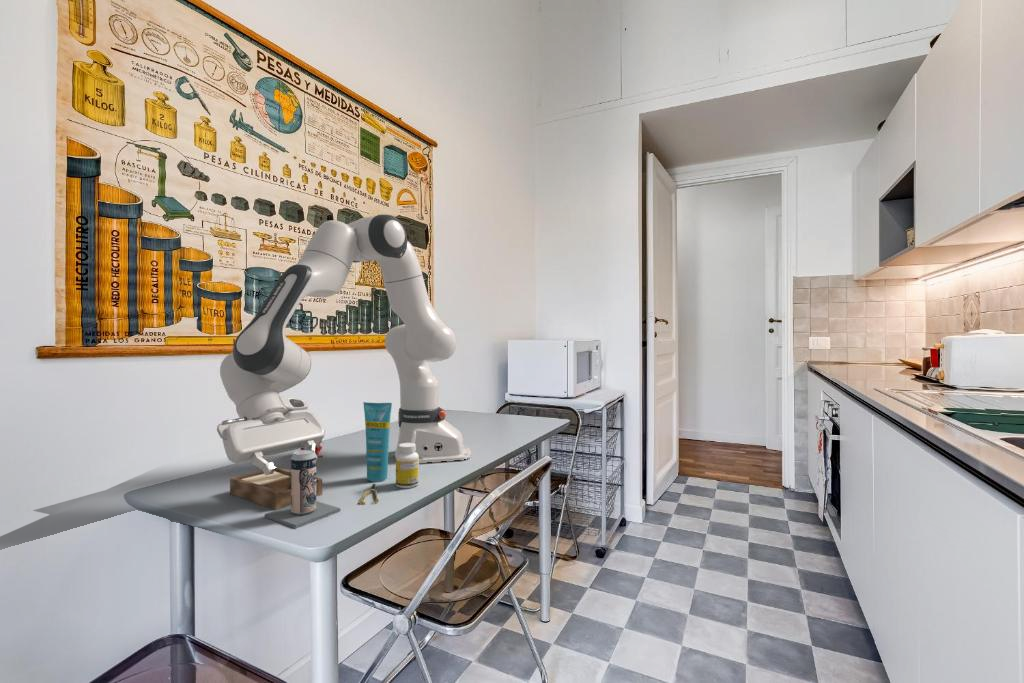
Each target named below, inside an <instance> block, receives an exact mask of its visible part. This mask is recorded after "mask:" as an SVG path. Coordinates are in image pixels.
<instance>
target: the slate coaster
mask: <svg viewBox="0 0 1024 683" xmlns="http://www.w3.org/2000/svg"><path fill="white" fill-rule="evenodd" d="M316 506H317V508H316V509H315V510H314V511H313V512H311V513H309V514H304V515H297V514H294V513H292V512H291V505H289V506H286V507H283V508H280V509H277V510H276V509H274V510H272V511H270V512H267V513H264V518H267V519H270V520H272V521H274V522H278V523H280V524H283V525H286V526H289V527H291V528H294V529H298V528H301V527H302V526H306V525H308V524H310V523H314V522H316V521H319V520H321V519H323V518H326V517H328V516H331V514H332V515H334V514H336V513H339V512H341V507H338V506H334V505H331V504H328V503H324V502H321V501H317V500H316Z"/></svg>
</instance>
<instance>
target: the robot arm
mask: <svg viewBox="0 0 1024 683" xmlns="http://www.w3.org/2000/svg"><path fill="white" fill-rule="evenodd" d="M372 261H376V263H377V264H378V265H379V267H380V271H381V272H380V273H381V276H382V280H383V285H384V288H385V291H386V295H387V298H388V302H389V307H390V309H391V310H392V312H394V313H395V314H396V315H397V316H398V317H399V319H401V321H402V323H403V324H400V325H396V326H394V327H392V328H390V329H389V330H388V331H387V333H386V335H385V337H384V346H385V349H386V351H387V352H388V354H389V355H390V357H391V358H392V360H393V362H394V364H395V367H396V371H397V374H398V378H399V389H400V390H399V391H400V392H399V394H400V395H399V396H400V399H399V400H400V401H399V402H400V406H399V408H398V412H397V413H398V415H397V416H398V417H397V418H398V423H397V424H398V427H399V429H398V431H399V432H398V437H397V443H396V448H395V452H394V458H396V456H397V454H399V453H400V452H399V445H400V444H402V443H414V444H416V450H415V452H416V453H417V454H418V455H419V464H428V463H427V462H432V463H442V462H441V461H447V462H455V461H454V460H461V461H465V460H464V459H466V460H468V459H469V458H468V457H470V458H471V456H472V450H471V448H470V447H468V446H467V445H465V442H464V437H463V434H462V432H461V431H460V430H459V429H458V428H456V427H455V426H454V425H452V424H451V423H450V422H448V421H447V420H446V415H447V413H446V410H445V409H444V408H442V407H440V406H439V382H438V379H437V378H436V376H435V375H434V374H433V373H432V371H431V368H430V366H429V363H436V362H442V361H445V360H448V359H450V358H451V357H452V356H453V355H454V353H455V351H456V348H457V338H456V334H455V333H454V331H453V330H452V329H451V328H450V327H448V325H446V324H445V323H444V322H443V321H442V320H441V318H440V317H439V316H438V314H437V312H436V310H435V309H434V307H433V305H432V302H431V300H430V298H429V294H428V291H427V287H426V283H425V279H424V276H423V271H422V268H421V264H420V261H419V259H418V256H417V254H416V252H415V250H414V246H413V245H412V244H411V243H410V241H408V236H407V231H406V229H405V226H404V225H403V223H402V222H401V221H400V220H399V218H397V217H396V216H394V215H391V214H378V215H373V216H365V217H361V218H359V219H357V220H354V221H351V222H348V223H345V222H343V221H339V220H335V219H333V220H332V219H331V220H326V221H324V222H322V223H321V224H320V225H319V227H318V228H317V229H316V231H315V232H314V234H313V235H312V237H311V238H310V239H309V242H308V243H307V245H306V247H305V249H304V251H303V253H302V255H301V257H300V259H299V260H298V262H297V263H296V264H292V265H291V266H290V267H288V268H287V269H286V270H285V271H284V272H283V273H282V274H281V276H280V277H279V278H278V280H277V281H276V283H275V284H274V286H273V287H272V289H271V291H270V292H269V294H268V295H267V297H266V299H265V300H264V301H263V303H262V304H261V307H260V308H259V309H258V311H257V313H256V314H255V315H254V317H253V319H251V321H250V322H249V323H248V324H247V325H246V326H245V327H244V328H243V329H242V330H241V331H240V333H239V334H238V335H237V336H236V338H235V340H234V343H233V346H232V347H233V348H232V352H231V353H229V354H228V355H226V356H225V357H224V359H222V360H221V362H220V367H219V374H220V379H221V382H222V385H223V387H224V389H225V392H226V393H227V395H228V398H229V399H230V401H231V402H233V404H234V405H235V411H236V414H237V415H238V417H237V418H234V419H226V420H222V421H221V422H220V423H219V424H218V425H217V426H216V431H217V434H218V436H219V438H220V439H222V444H223V448H224V451H225V454H226V457H227V459H228V461H230V462H232V463H234V464H240V463H243V462H248V461H251V463H252V465H253V466H256V467H257V468H258V469H261V470H263V472H264V474H265V475H270V474H273V473H274V472H275V470H276V468H275V467H276V466H275V464H274V462H272V461H271V462H268V461H267V460H266V459H265V458H264V457H269V456H273V455H278V454H282V453H286V452H290V451H296V450H299V449H300V448H304V449H305V450H314V452H315V445H317V444H319V443H320V442H321V440H322V441H323V439H324V438H325V436H326V430H325V428H324V426H323V424H322V422H321V421H320V418H318V416H317V415H316V414H315V413H314V412H313V411H311V410H310V409H309V403H308V402H307V400H305V399H300V398H295V397H294V398H292V397H288V396H284V395H280V393H283V392H286V391H287V390H289V389H291V388H293V387H295V386H297V385H298V384H300V383H301V382H303V381H304V380H305V379H306V378H307V376H308V375H309V374H310V371H311V367H312V359H311V355H310V353H308V352H307V350H305V349H304V348H303V347H301V346H300V345H298V344H297V343H296V342H294V341H292V340H291V339H290V338H288V337H286V327H287V325H288V324H289V321H290V320H291V318H292V317H293V315H294V314H295V311H296V310H297V308H298V306H299V305H300V303H301V301H302V300H303V299H304V298H306V297H309V296H310V297H312V298H313V297H314V298H329V297H332V296H334V295H336V294H338V293H339V292H340V291H341V289H342V288H343V286H344V285H345V282H346V281H347V278H348V276H349V273H350V271H351V269H352V268H351V267H352V265H353V263H357V264H358V263H362V262H372ZM321 443H322V442H321ZM321 443H320V444H321ZM300 450H301V449H300ZM470 455H471V456H470ZM467 458H468V459H467ZM317 460H318V456H317V457H316V461H317Z"/></svg>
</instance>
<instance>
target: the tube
mask: <svg viewBox="0 0 1024 683" xmlns="http://www.w3.org/2000/svg"><path fill="white" fill-rule="evenodd" d="M362 404H363V412H364V424H365V425H364V426H365V448H366V452H365V453H366V454H365V455H366V479H367V481H369V482H373V483H375V482H377V483H378V482H383V480H384V481H386V480H387V479H388V466H389V449H390V446H389V444H390V443H389V442H390V428H391V413H392V407H393V406H392V405H393V403H392V402H366V401H363V402H362ZM385 479H386V480H385Z"/></svg>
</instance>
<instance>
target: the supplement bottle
mask: <svg viewBox="0 0 1024 683" xmlns="http://www.w3.org/2000/svg"><path fill="white" fill-rule="evenodd" d="M415 450H416V444H414V443H402V444H400V445H399V452H400V453H399V454H397V456H396V457H395V486H396V487H397V488H399V487H400V489H412V488H415V486H416V487H418V485H419V483H420V476H419V475H420V471H419V470H420V468H419V467H420V463H419V455H418V454H417V453H416V452H415Z"/></svg>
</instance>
